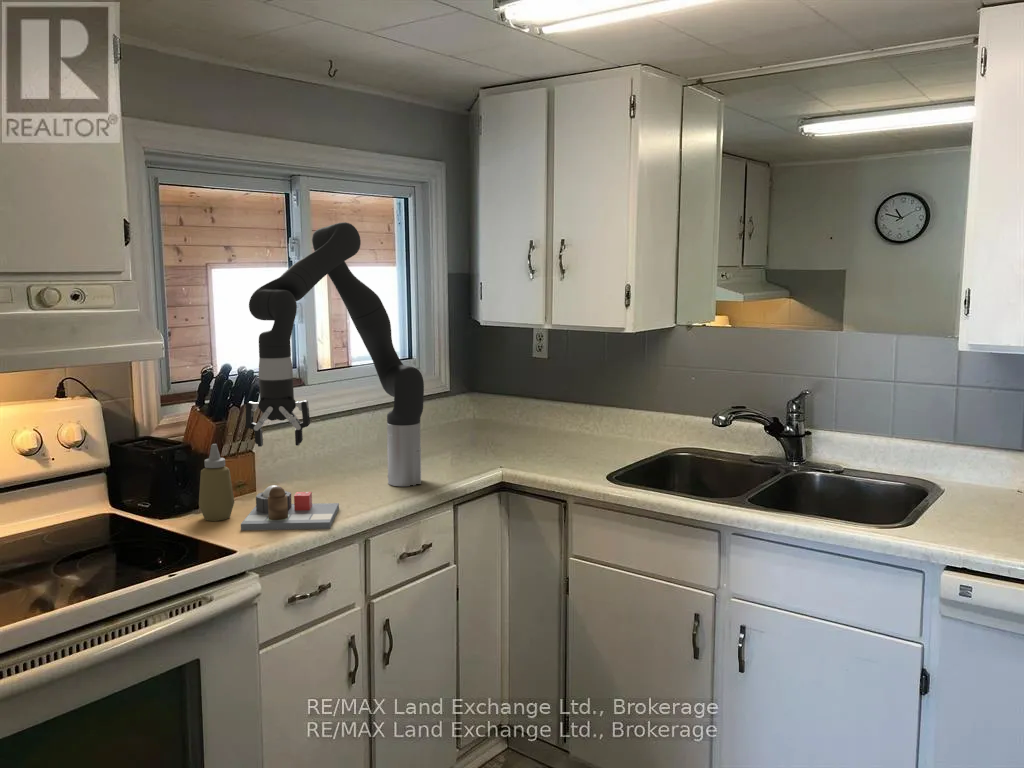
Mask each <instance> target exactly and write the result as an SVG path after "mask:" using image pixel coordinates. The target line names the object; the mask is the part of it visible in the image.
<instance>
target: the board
mask: <svg viewBox="0 0 1024 768" xmlns="http://www.w3.org/2000/svg"><path fill="white" fill-rule="evenodd" d="M284 491H285V495H287V503H288V517H287V518H286V519H282V520H270V519H269V515H268V498H264V497H263V493H264V491H262V492H258V493H257V494H256V496H255V506H254V507H253V508H252V510H251V511H250V513H249V514H247V516H246V517H245V518H244V519H243V520H242V521H241V523H240V531H267V530H268V531H271V530H272V531H274V530H321V529H322V530H325V529H326V530H327V529H331V526H332V525H333V523H334V521H335V519H336V516H337V514H338V512H339V510H340V504H339V502H337V503H336V502H333V503H331V502H328V503H325V502H324V503H323V502H322V503H320V502H319V503H312V507H311V509H310V510H295V509H294V503H292V492H291V491H287V490H284Z"/></svg>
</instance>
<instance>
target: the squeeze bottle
mask: <svg viewBox="0 0 1024 768" xmlns="http://www.w3.org/2000/svg"><path fill="white" fill-rule="evenodd" d="M232 483H233V482H232V478H231V471H230V468H229V467H227V466H226V459H225V458H224V457H221V454H220V451H219V448H218V444H217V443H212V444H211V445H210V450H209V456H208V458H206V459H204V468H202V469H201V470H200V480H199V494H198V506H199V509H200V512H201V514H202V516H203V518H204V520H205V521H208V522H209V521H210V522H218V521H224V520H227V519H229V518H230V517H231V515H232V512H233V508H234V505H235V498H234V491H233V484H232Z"/></svg>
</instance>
